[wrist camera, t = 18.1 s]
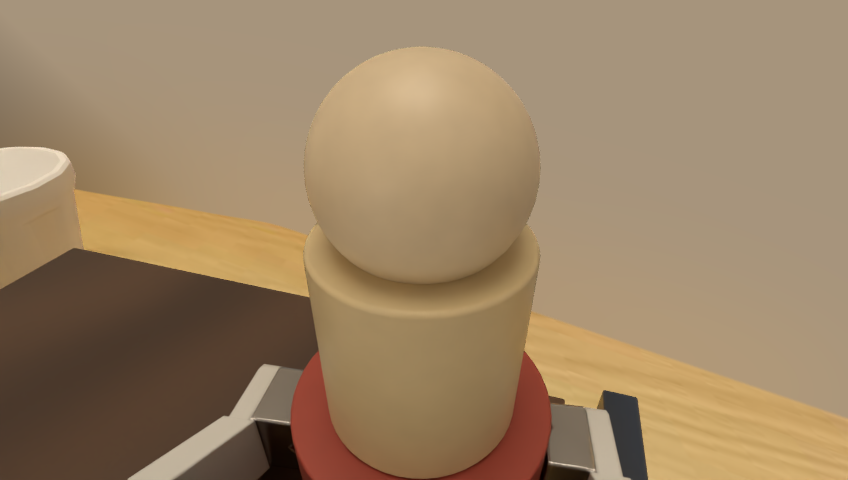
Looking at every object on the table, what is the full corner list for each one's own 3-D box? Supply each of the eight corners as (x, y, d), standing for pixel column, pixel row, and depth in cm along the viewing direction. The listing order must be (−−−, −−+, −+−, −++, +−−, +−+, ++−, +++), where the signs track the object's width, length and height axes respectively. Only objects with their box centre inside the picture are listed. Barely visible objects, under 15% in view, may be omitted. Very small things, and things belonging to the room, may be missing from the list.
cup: (84, 343, 27) (8, 210, 22) (-106, 364, 26) (-232, 226, 21) (142, 253, 35) (97, 141, 30) (2, 265, 34) (-69, 150, 29)
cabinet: (368, 419, 23) (357, 306, 19) (168, 852, 12) (34, 806, 8) (126, 353, 26) (73, 247, 22) (-198, 633, 15) (-418, 523, 11)
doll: (456, 449, 17) (489, 18, 9) (548, 612, 13) (761, 71, 5) (312, 512, 15) (192, 32, 7) (364, 732, 11) (209, 142, 3)
